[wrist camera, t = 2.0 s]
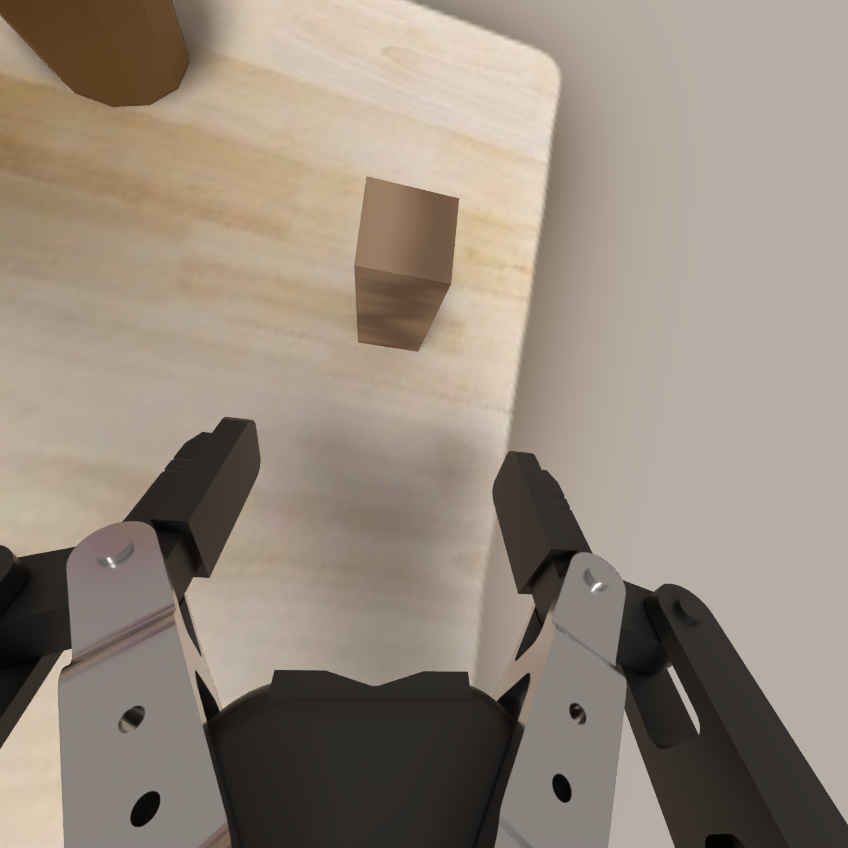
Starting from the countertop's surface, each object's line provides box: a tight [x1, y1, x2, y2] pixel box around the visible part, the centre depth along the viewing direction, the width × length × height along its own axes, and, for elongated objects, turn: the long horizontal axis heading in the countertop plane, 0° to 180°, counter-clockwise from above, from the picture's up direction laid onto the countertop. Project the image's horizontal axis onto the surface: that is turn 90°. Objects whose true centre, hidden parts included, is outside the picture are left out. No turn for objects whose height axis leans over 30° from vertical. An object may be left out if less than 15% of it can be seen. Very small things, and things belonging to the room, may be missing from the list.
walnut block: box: [354, 177, 459, 352], centre depth 23 cm, size 5×5×11 cm
